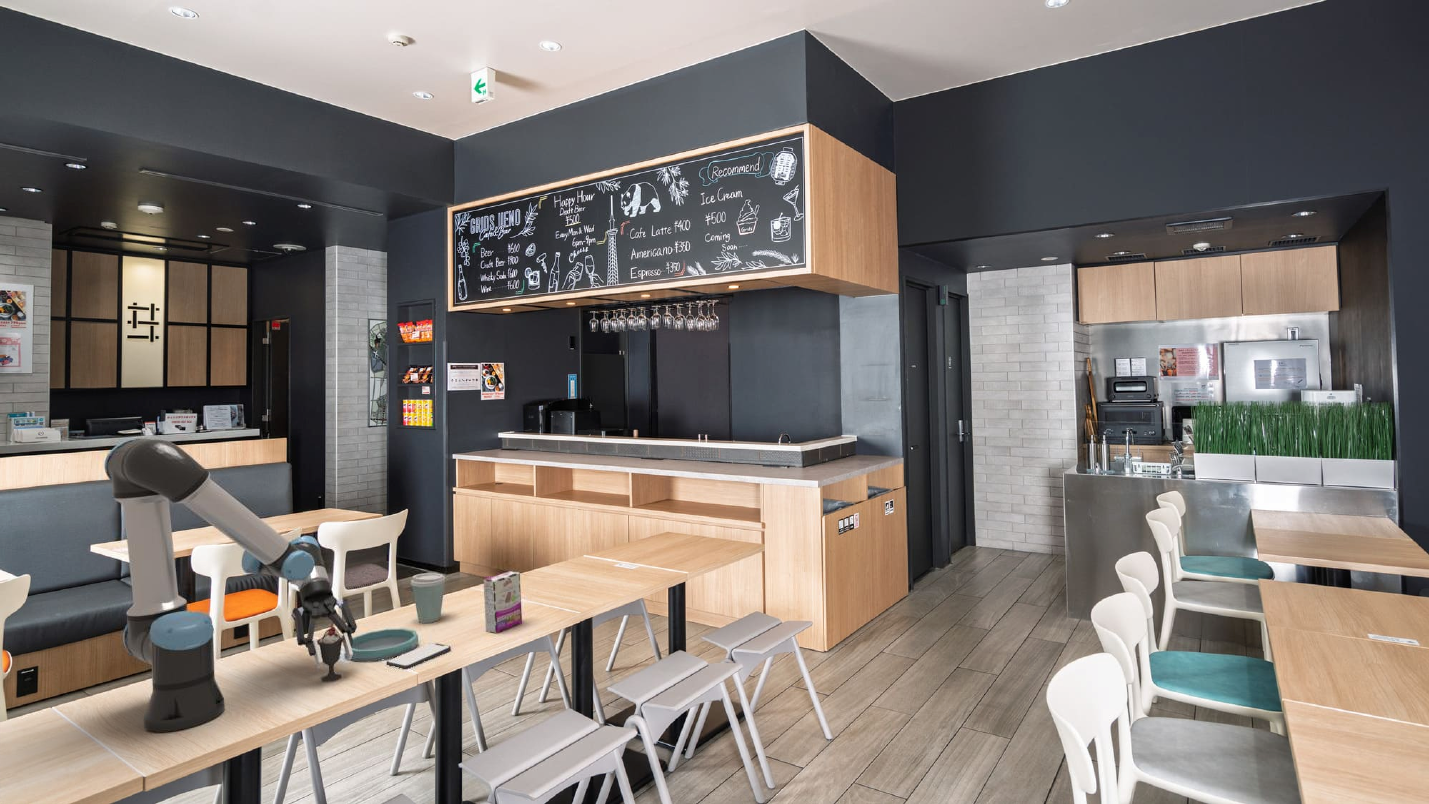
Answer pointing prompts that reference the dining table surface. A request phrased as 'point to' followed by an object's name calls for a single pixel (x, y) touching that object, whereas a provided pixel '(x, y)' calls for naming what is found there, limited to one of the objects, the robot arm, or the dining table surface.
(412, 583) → the disposable coffee cup
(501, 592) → the candy bar box
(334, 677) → the sundae
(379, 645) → the round tray
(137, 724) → the dining table surface
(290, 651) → the dining table surface
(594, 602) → the dining table surface
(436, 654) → the smartphone
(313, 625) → the robot arm
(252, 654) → the dining table surface
